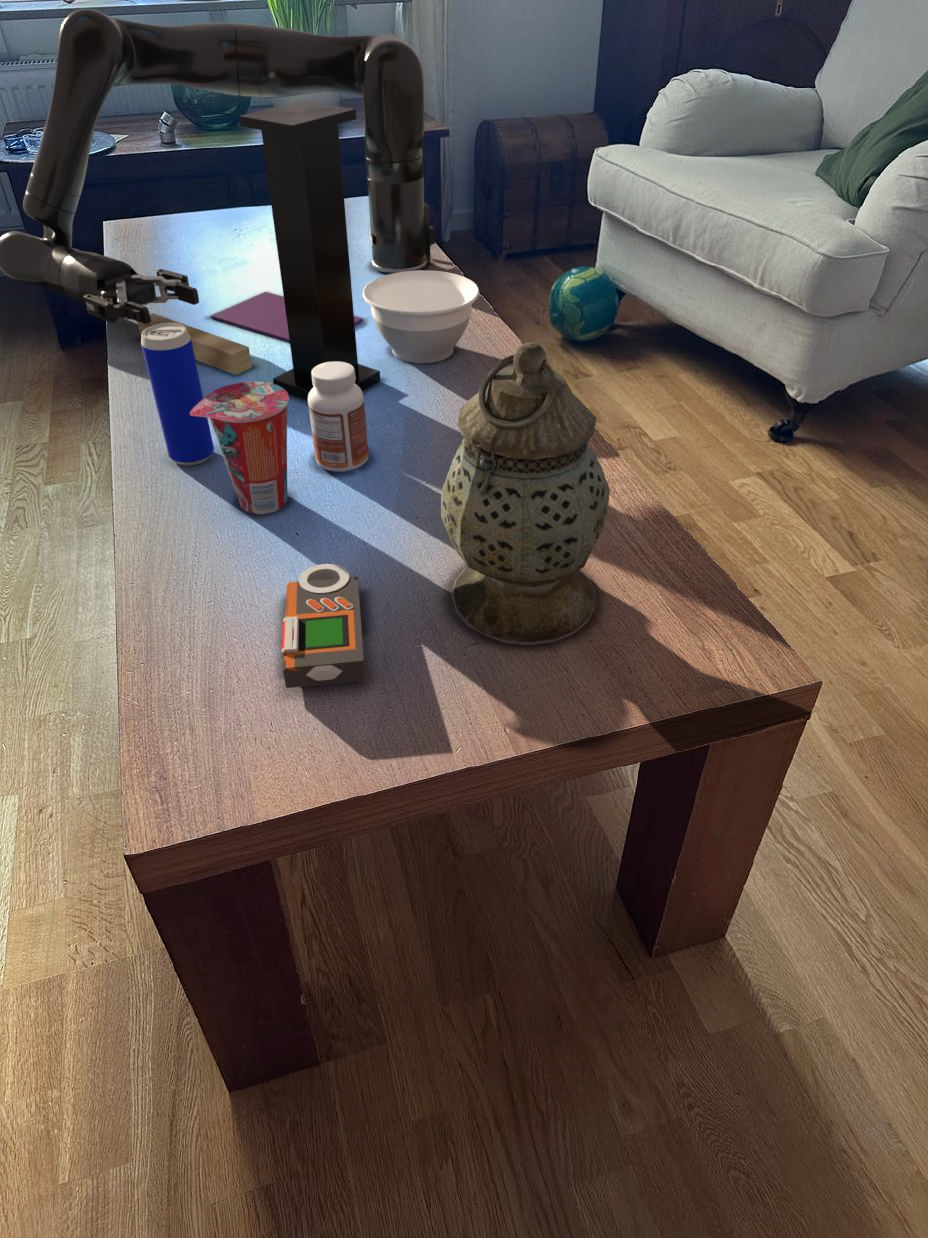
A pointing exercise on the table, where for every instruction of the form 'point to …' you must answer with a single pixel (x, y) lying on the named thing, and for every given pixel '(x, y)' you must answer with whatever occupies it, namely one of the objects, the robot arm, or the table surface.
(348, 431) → the pill bottle
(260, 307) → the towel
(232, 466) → the cup
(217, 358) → the birch stick
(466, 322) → the bowl
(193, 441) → the beverage can
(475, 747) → the table surface
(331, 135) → the stand
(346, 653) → the electronic device
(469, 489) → the lantern
